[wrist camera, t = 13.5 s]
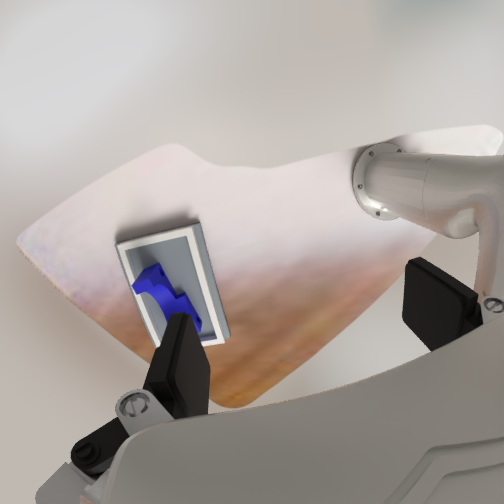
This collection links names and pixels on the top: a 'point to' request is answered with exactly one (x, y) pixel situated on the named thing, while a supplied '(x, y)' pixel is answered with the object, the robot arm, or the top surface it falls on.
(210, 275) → the shallow rectangular tray
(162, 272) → the blue long irregular block
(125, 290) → the top surface
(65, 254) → the top surface
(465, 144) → the top surface
